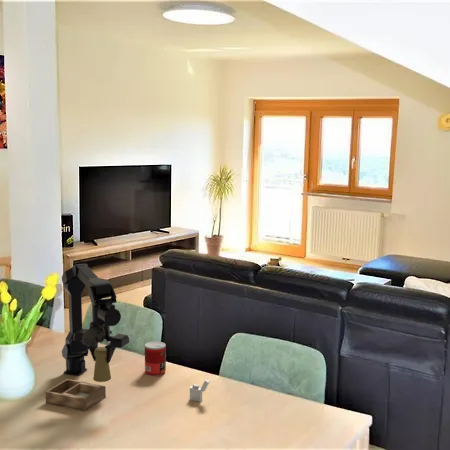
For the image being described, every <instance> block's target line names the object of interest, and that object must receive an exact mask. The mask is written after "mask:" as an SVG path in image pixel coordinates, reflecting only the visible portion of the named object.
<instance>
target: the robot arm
mask: <svg viewBox="0 0 450 450" xmlns="http://www.w3.org/2000/svg"><path fill="white" fill-rule="evenodd" d="M61 281H62V285H63V288H64V289H65V292H66V293H67V295H68V296H67V297H68V318H69V319H68V322H69V323H68V324H69V327H68V328H69V331H68V334H67V335H66V337H65V338H64V339H65V340H64V341H65V343H64V345H63V347H62V350H61V357H62V358H63V359H64V360H65V368H66V370H64V371H63V374H66V375H70V376H71V375H72V376H77V377H78V376H80V375H81V374H83V373H85V372H86V371H88V368H87V367H86V359H85V357H88V356H89V352H90V355H91V356H92V359H93V361H94V362H95V360H96V357H95V356H94V351H95V349H96V348H98V347H99V343H103V342H107V344H106V345H105V346H104V347H105V348H106V349H107V363H109V364H110V362H111V359H112V357H113V355H114V353H115V352H116V351H115V350H116V349H117V348H121V349H122V348H123V347H124V346H126V345H128V344H129V343H130V336H129V335H127V334H123V333H117V334H115V335H114V336H113V335H112V334H113V333H112V332H113V330H111V328H110V327H115V326H117V325H118V324H119V322H120V321H121V319H122V315H121V312H120V311H119V310H118V309H117V308H116V303H117V295H116V292H115V289H114V287H113V285H112V283H111V282H110V281H109V280H107V279H106V278H101V277H98V275H96V273H95V272H94V271H93V270H92V269H91V268H90V267H89V265H88V263H78V264H74V265H72V267H70V268H68V269H67V270H65V271H64V272H63V274H62V276H61ZM86 287H87V294H88V297H89V299H90V303H91V313H92V314H91V315H92V316H91V317H92V321H90V323H89V327H88V328H83V306H82V305H83V304H82V301H83V300H82V294H83V292H84V291H85V289H86Z"/></svg>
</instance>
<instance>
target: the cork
mask: <svg viewBox="0 0 450 450" xmlns="http://www.w3.org/2000/svg"><path fill="white" fill-rule="evenodd" d="M94 356H95V357H96V360H95V361H94V368H93V369H94V370H93V371H94V372H93V381H94V382H97V383H104V382H109V381H110V380H111V379H112V375H111V370H110V369H111V368H110V362H109V363H107V349H106V348H105V346H98V348H96V349H95V351H94Z"/></svg>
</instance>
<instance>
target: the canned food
mask: <svg viewBox="0 0 450 450" xmlns="http://www.w3.org/2000/svg"><path fill="white" fill-rule="evenodd" d="M166 347H167V346H166V343H165V342H162V341H156V340H155V341H148V342H146V343H145V344H144V372H145V374H146V375H149V376H155V377H157V376H161V375H164V374H165V373H166V370H167V367H166V365H167V362H166V361H167V359H166V357H167V354H166V353H167V351H166V349H167V348H166Z"/></svg>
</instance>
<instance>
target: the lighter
mask: <svg viewBox="0 0 450 450" xmlns="http://www.w3.org/2000/svg"><path fill="white" fill-rule="evenodd" d="M210 382H211V380H210V379H209V378H206V379H205V380H204V381H203V384H202V385H201V387H200V384H195V383H194V384H192V385H191V386H190V387H189V401H195V402H202V401H203V393H204V392H206V391H207V388H208V386H209V384H210Z"/></svg>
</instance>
